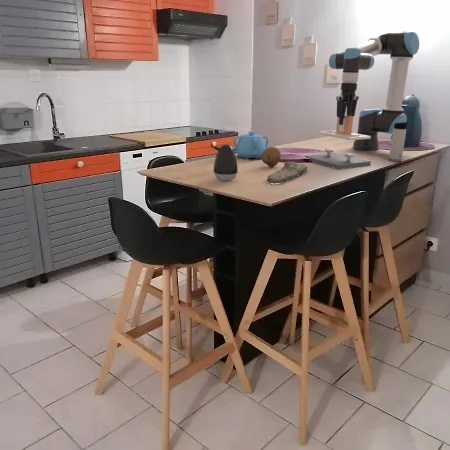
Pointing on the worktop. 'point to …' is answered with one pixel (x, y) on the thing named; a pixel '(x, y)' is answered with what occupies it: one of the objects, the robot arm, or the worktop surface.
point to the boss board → (338, 160)
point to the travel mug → (398, 141)
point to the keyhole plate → (348, 137)
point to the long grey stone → (287, 172)
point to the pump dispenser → (225, 163)
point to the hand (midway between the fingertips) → (343, 131)
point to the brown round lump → (271, 156)
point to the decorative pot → (250, 145)
